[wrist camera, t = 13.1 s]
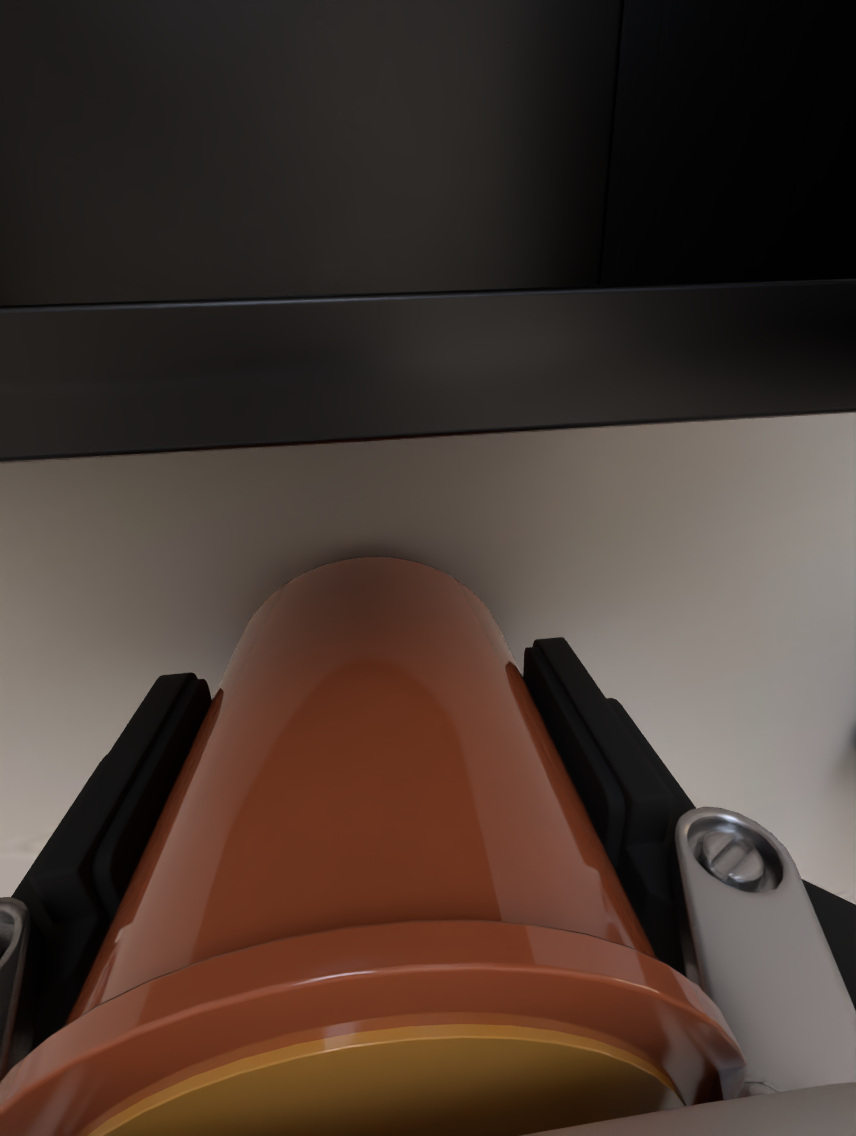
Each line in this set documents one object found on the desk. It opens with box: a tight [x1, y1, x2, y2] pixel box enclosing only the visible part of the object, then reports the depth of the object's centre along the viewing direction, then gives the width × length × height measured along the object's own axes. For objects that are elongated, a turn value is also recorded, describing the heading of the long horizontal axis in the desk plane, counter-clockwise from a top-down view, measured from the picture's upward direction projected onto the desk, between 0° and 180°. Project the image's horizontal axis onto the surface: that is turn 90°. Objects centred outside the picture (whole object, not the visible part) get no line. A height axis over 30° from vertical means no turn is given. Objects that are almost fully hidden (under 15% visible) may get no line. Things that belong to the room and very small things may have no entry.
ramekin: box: [0, 557, 747, 1136], centre depth 8 cm, size 7×7×8 cm
